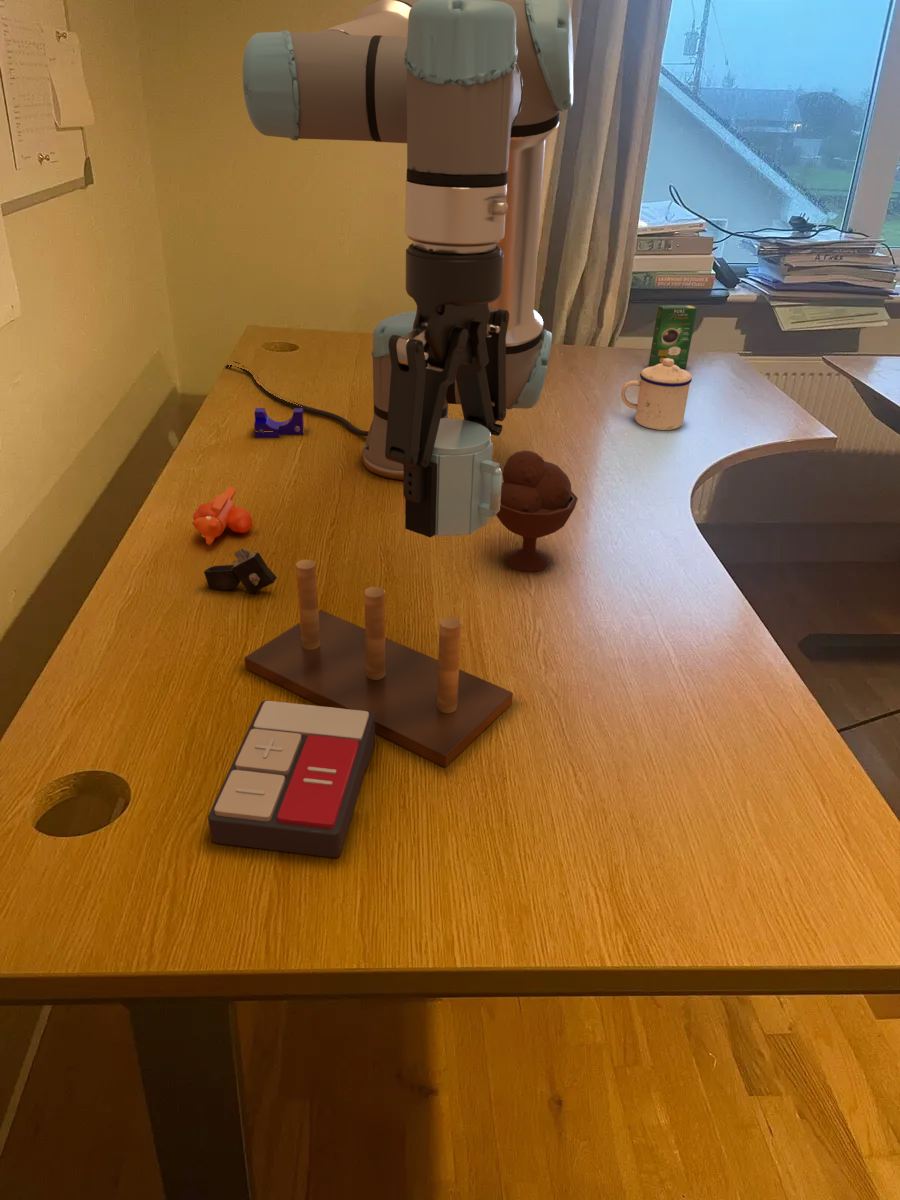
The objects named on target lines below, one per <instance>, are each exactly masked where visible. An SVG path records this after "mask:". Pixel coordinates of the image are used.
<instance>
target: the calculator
mask: <svg viewBox="0 0 900 1200" xmlns="http://www.w3.org/2000/svg"><path fill="white" fill-rule="evenodd" d="M375 744H376V733H375V715H374V713H373V712H370V711H362V710H352V709H343V708H334V707H324V706H320V705H313V704H305V703H295V702H286V701H278V700H277V701H276V700H262V701H261V702H260V704H259V706H258V708H257V710H256V712H255V714H254V716H253V719H252V721H251V723H250V725H249V727H248V729H247V731H246V733H245V736H244V737H243V740H242V742H241V744H240V746H239V749H238V751H237V753H236V755H235V757H234V759H233V761H232V763H231V766H230V768H229V770H228V772H227V774H226V776H225V778H224V781H223V783H222V785H221V787H220V789H219V791H218V794H217V795H216V797H215V800H214V803H213V805H212V807H211V809H210V811H209V813H208V816H207V821H208V826H209V831H210V837H211V840H212V841H211V842H213V843H214V844H221V845H227V846H236V847H237V846H238V847H244V848H251V849H252V848H253V849H262V850H268V851H278V852H283V853H284V852H285V853H294V854H301V855H308V856H309V855H310V856H319V857H327V858H332V859H333V858H338V857H340V856H341V855H342V851H343V849H344V846H345V842H346V838H347V835H348V831H349V828H350V824H351V821H352V817H353V814H354V811H355V807H356V804H357V800H358V796H359V794H360V791H361V787H362V783H363V780H364V777H365V773H366V769H367V768H368V767H369V764H370V761H371V757H372V754H373V752H374V751H373V750H374V747H375Z"/></svg>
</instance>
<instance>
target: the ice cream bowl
mask: <svg viewBox="0 0 900 1200" xmlns="http://www.w3.org/2000/svg"><path fill="white" fill-rule="evenodd" d="M578 500H579V498H578V497H577V495H576V494H575V493H574V492H573V491H572V483H571V481H570V479H569V477H568V475H567V473H565V472H564V470H562V469H561V468H560V466H559V465H557V464H554V463H552V462H549V461H545V460H544V458H543V457H542V456H541V455H539V454H538V453H537V452H535V451H532V450H521V451H516V452H515V453H513V454H511V455H510V456H509V457H508V458H507V460H506V461H505V464H504V467H503V469H502V486H501V502H500V511H499V512H498V513H497V515H496V516H495V517H497V519H498V520H499V522H500V524H501V525H503V526H504V528H506V530H508V531H509V532H512V533H513V534H515V535H517V536H520V537H522V547H521V548H519V549H515V550H512V551H511V552H510V554H509V555H508V556H507V558H506V562H507V563H508V565H509V566H510V568H513V569H515V570H518V571H520V572H529V573H530V572H532V573H536V572H539V571H543V570H545V569H547V567H548V565H549V564H550V561H549V558H548V557H547V555H546V554H545V553H544V552H542V551H540V550H538V549H537V539H539V538H543V537H546V536H549V535H551V534H554V533H556V532H558V531H560V529H563V527H564V526H566V523H567V521H568V520H570V519H569V518H570V517H571V516H572V513H573V512H574V510H575V509H576V506H577V503H578Z"/></svg>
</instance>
